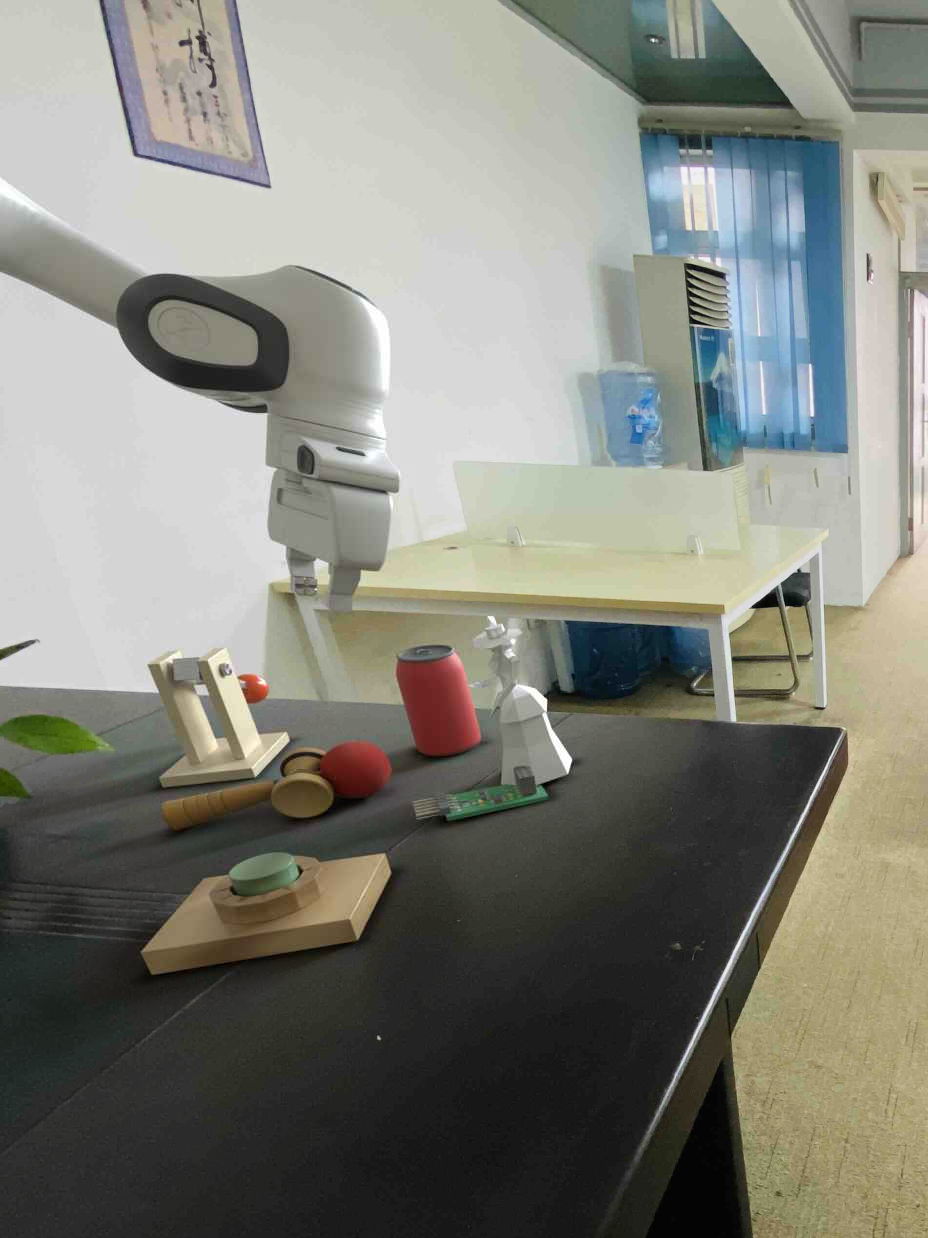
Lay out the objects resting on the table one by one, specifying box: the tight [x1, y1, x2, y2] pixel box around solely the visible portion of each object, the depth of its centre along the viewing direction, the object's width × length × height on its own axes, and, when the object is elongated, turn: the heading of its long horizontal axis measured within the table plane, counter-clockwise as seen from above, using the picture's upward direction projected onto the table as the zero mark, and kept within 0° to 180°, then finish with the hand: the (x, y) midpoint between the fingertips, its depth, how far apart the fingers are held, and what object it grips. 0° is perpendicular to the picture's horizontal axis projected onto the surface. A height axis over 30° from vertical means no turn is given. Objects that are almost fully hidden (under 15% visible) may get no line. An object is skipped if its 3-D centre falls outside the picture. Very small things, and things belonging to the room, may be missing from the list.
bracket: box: [146, 647, 290, 788], centre depth 88 cm, size 10×8×13 cm
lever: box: [172, 656, 270, 705], centre depth 92 cm, size 14×4×4 cm, turn 19°
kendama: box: [160, 741, 393, 832], centre depth 82 cm, size 8×6×18 cm
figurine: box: [468, 615, 573, 785], centre depth 88 cm, size 7×8×18 cm
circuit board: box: [411, 766, 549, 822], centre depth 84 cm, size 12×3×5 cm
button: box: [228, 852, 300, 897], centre depth 65 cm, size 4×4×2 cm
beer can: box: [395, 644, 482, 757], centre depth 94 cm, size 7×7×12 cm
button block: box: [140, 853, 392, 976], centre depth 66 cm, size 13×10×4 cm
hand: (320, 602), depth 80 cm, fingers open, 8 cm apart
